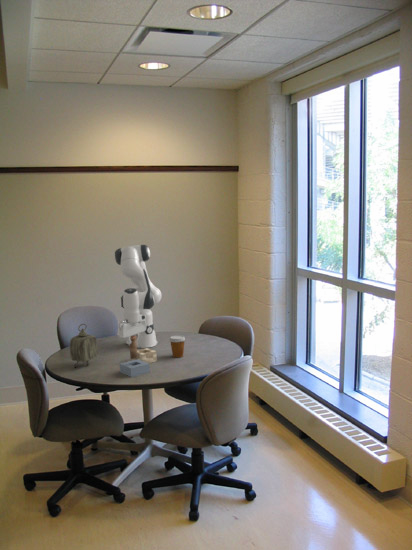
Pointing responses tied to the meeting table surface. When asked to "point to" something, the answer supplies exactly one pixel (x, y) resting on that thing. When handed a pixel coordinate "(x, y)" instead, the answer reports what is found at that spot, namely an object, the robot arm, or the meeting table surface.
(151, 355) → the mount
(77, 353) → the tabletop clock
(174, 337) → the disposable coffee cup
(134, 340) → the pin
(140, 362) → the socket
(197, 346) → the meeting table surface
